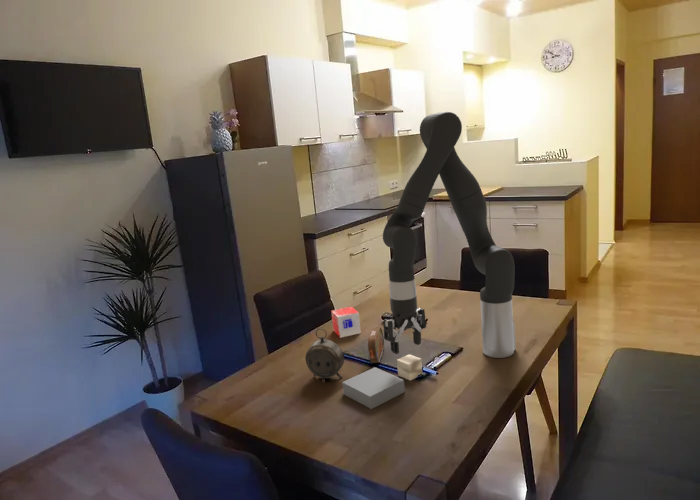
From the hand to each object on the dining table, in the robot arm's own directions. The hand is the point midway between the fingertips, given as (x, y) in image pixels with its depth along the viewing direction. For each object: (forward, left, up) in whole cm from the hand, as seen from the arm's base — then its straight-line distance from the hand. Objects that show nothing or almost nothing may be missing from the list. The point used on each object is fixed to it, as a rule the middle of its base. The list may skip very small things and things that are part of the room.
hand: (406, 348), depth 150 cm
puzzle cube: (-9, -42, -9) cm, 44 cm away
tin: (-2, -17, -9) cm, 19 cm away
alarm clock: (+18, -17, -9) cm, 26 cm away
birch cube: (0, 0, -8) cm, 8 cm away
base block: (+14, 0, -9) cm, 16 cm away
